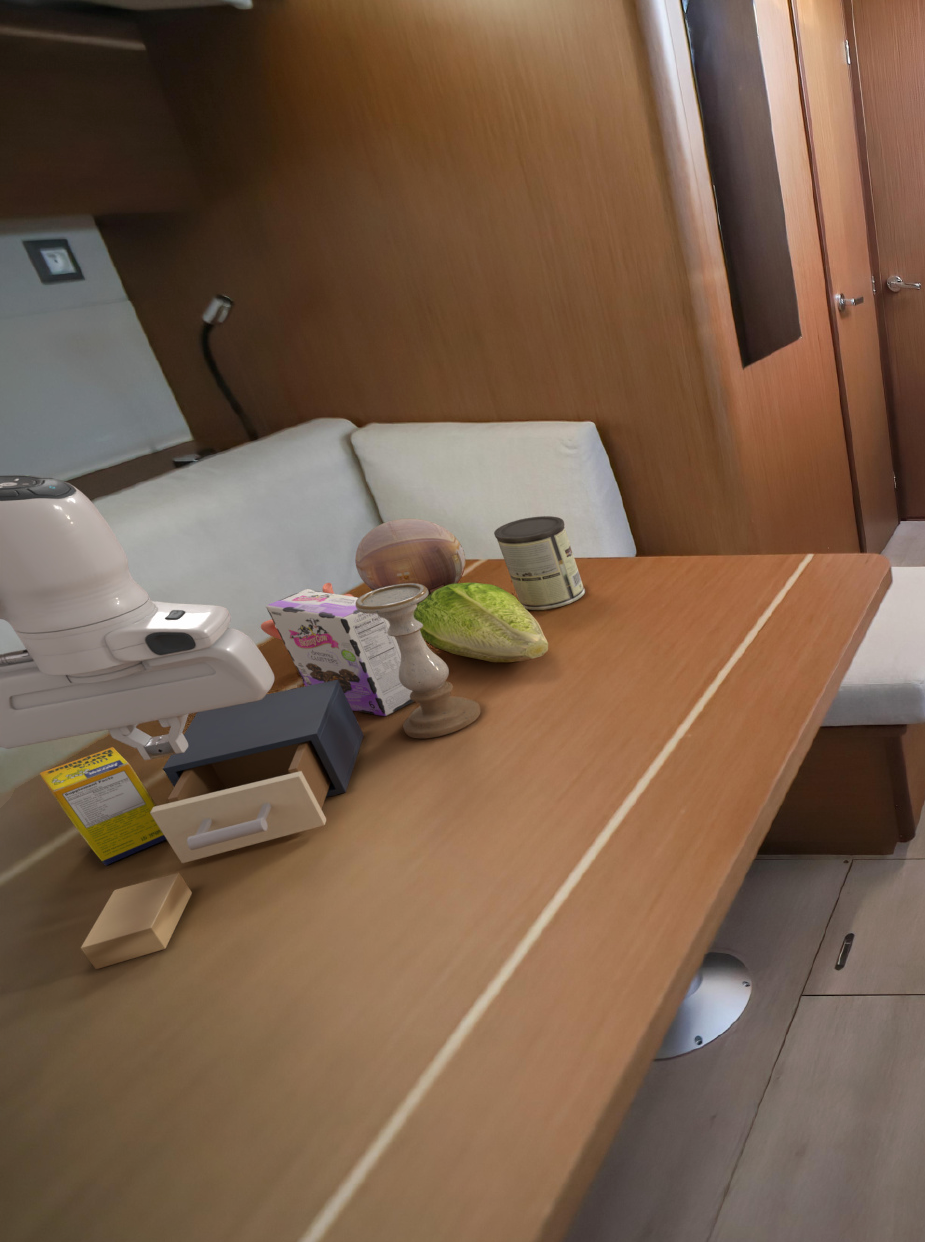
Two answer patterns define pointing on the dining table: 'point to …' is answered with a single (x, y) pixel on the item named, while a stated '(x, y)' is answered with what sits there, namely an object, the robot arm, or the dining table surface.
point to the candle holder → (419, 664)
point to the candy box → (342, 649)
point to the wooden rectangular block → (137, 921)
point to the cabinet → (277, 731)
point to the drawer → (244, 801)
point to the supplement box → (106, 804)
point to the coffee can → (540, 562)
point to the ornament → (410, 555)
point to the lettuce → (480, 623)
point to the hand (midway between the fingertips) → (167, 753)
